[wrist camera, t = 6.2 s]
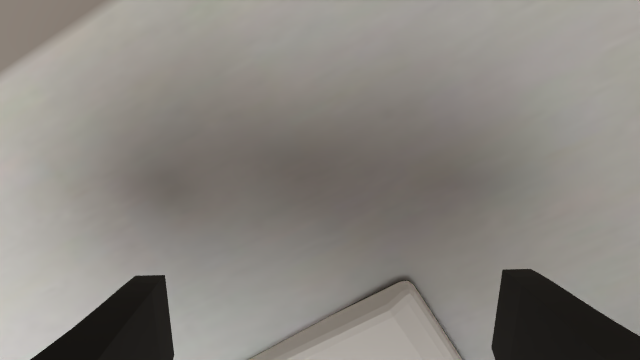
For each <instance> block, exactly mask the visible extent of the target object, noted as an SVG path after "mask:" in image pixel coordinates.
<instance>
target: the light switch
mask: <svg viewBox="0 0 640 360" xmlns="http://www.w3.org/2000/svg"><path fill="white" fill-rule="evenodd" d="M249 360H462V358H461V357H460V355H459V354H458V352H457V351H456V349H455V348H454V346H453V345H452V343H451V342H450V340H449V339H448V337H447V335H446V334H445V332H444V331H443V329H442V328H441V326H440V325H439V323H438V322H437V320H436V319H435V317H434V315H433V314H432V312H431V311H430V309H429V308H428V306H427V305H426V303H425V302H424V300H423V299H422V297H421V296H420V294H419V292H418V291H417V289H416V288H415V286H414V285H413V284H412V283H410V282H409V281H401V282H399V283H396V284H394V285H392V286H390V287H388V288H386V289H384V290H382V291H380V292H378V293H376V294H374V295H372V296H370V297H368V298H366V299H364V300H362V301H360V302H358V303H356V304H354V305H351V306H349V307H347V308H345V309H343V310H341V311H339V312H337V313H335V314H333V315H331V316H329V317H327V318H326V319H324V320H322V321H320V322H318V323H316V324H314V325H312V326H311V327H309V328H307V329H305V330H303V331H301V332H299V333H297V334H296V335H294V336H292V337H290V338H288V339H286V340H284V341H282V342H280V343H279V344H277V345H275V346H273V347H271V348H269V349H267V350H265V351H264V352H262V353H260V354H258V355H256V356H254V357H252V358H250V359H249Z"/></svg>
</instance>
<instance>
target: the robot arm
mask: <svg viewBox="0 0 640 360" xmlns="http://www.w3.org/2000/svg"><path fill="white" fill-rule="evenodd" d="M492 351H493V354H494V357H495V360H640V336H638V335H637V334H635V333H633V332H631V331H630V330H628V329H626V328H625V327H623V326H621V325H620V324H618V323H616V322H615V321H613V320H611V319H610V318H608V317H607V316H605V315H603V314H602V313H600V312H599V311H597V310H595V309H594V308H592V307H591V306H589V305H588V304H586V303H585V302H583V301H581V300H580V299H578V298H577V297H575V296H574V295H572V294H571V293H569V292H568V291H566V290H565V289H563V288H561V287H560V286H558V285H557V284H555V283H554V282H552V281H550V280H549V279H547V278H546V277H544V276H542V275H541V274H539V273H537V272H535V271H533V270H531V269H511V270H503V271H502V278H501V285H500V292H499V299H498V306H497V313H496V320H495V327H494V334H493V341H492ZM173 357H174V350H173V341H172V333H171V324H170V316H169V307H168V298H167V290H166V281H165V275H152V276H135V277H133V278H132V279H131V280H130V281H128V282H127V283H126V284H125V285H124V286H122V287H121V288H120V289H119V290H118V291H116V292H115V293H114V294H113V295H112V296H111V297H109V298H108V299H107V300H106V301H105V302H104V303H102V304H101V305H100V306H99V307H98V308H96V309H95V310H94V311H93V312H92V313H90V314H89V315H88V316H87V317H86V318H84V319H83V320H82V321H81V322H79V323H78V324H77V325H76V326H75V327H73V328H72V329H71V330H69V331H68V332H67V333H65V334H64V335H63V336H61V337H60V338H59V339H57V340H56V341H55V342H53V343H52V344H51V345H49V346H48V347H47V348H45V349H44V350H43V351H41V352H40V353H39V354H37V355H36V356H35V357H33V358H32V359H31V360H173Z"/></svg>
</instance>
